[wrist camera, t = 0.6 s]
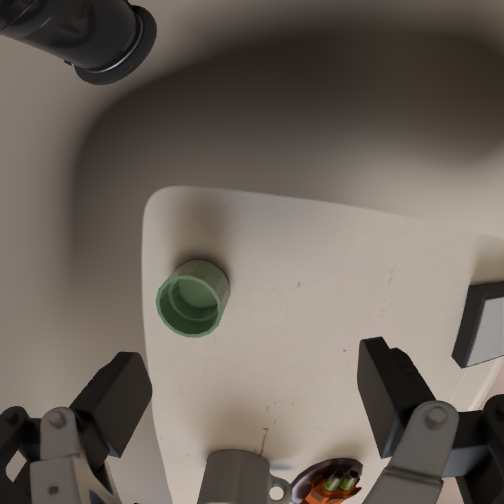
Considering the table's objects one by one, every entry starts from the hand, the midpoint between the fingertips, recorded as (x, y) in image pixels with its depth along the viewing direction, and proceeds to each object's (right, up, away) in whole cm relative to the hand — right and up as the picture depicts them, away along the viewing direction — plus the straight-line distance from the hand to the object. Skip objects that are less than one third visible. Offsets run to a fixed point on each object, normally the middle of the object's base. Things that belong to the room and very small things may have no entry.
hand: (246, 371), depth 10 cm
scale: (+31, -5, +18) cm, 36 cm away
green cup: (-5, +1, +19) cm, 20 cm away
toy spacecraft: (+13, -38, +28) cm, 49 cm away
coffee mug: (0, -30, +27) cm, 41 cm away
